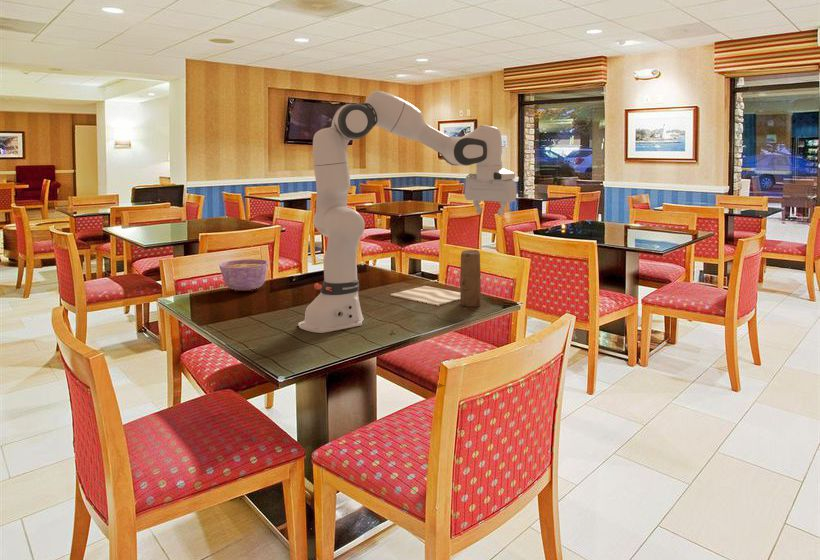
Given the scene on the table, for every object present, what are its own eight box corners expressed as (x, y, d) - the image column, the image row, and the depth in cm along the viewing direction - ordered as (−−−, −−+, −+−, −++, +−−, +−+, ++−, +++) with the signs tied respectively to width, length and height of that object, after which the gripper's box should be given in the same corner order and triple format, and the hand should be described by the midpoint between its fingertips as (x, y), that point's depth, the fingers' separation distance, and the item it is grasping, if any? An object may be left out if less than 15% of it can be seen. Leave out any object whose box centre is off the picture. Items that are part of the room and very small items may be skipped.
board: (438, 306, 227) (438, 304, 227) (390, 295, 245) (390, 294, 245) (473, 296, 241) (473, 294, 241) (425, 287, 259) (425, 285, 259)
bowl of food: (280, 288, 264) (278, 261, 261) (245, 297, 247) (242, 269, 245) (247, 283, 274) (245, 257, 272) (211, 292, 258) (208, 265, 255)
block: (481, 307, 224) (481, 253, 219) (460, 307, 224) (459, 253, 220) (480, 300, 234) (480, 248, 230) (460, 300, 235) (460, 248, 231)
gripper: (460, 174, 217) (461, 213, 220) (507, 175, 203) (508, 217, 206) (471, 172, 221) (472, 211, 225) (519, 173, 207) (519, 214, 211)
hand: (489, 213), depth 215 cm, fingers open, 8 cm apart
